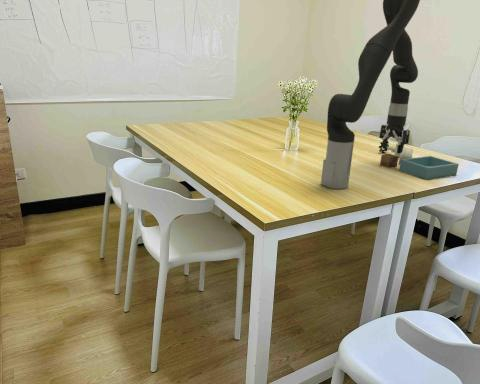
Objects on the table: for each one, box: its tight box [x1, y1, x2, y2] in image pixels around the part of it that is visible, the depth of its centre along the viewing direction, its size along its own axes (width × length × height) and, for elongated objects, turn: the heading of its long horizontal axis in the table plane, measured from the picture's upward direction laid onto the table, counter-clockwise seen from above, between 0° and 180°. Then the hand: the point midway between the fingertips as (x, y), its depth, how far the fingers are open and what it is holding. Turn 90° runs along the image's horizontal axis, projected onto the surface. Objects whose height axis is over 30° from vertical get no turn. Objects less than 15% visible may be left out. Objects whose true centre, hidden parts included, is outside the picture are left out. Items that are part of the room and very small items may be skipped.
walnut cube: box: [379, 153, 399, 169], centre depth 172 cm, size 5×5×5 cm
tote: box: [398, 155, 460, 181], centre depth 164 cm, size 18×14×5 cm
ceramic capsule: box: [398, 147, 414, 165], centre depth 176 cm, size 5×5×7 cm
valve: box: [378, 141, 405, 159], centre depth 191 cm, size 7×7×12 cm
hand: (391, 150), depth 171 cm, fingers open, 8 cm apart
